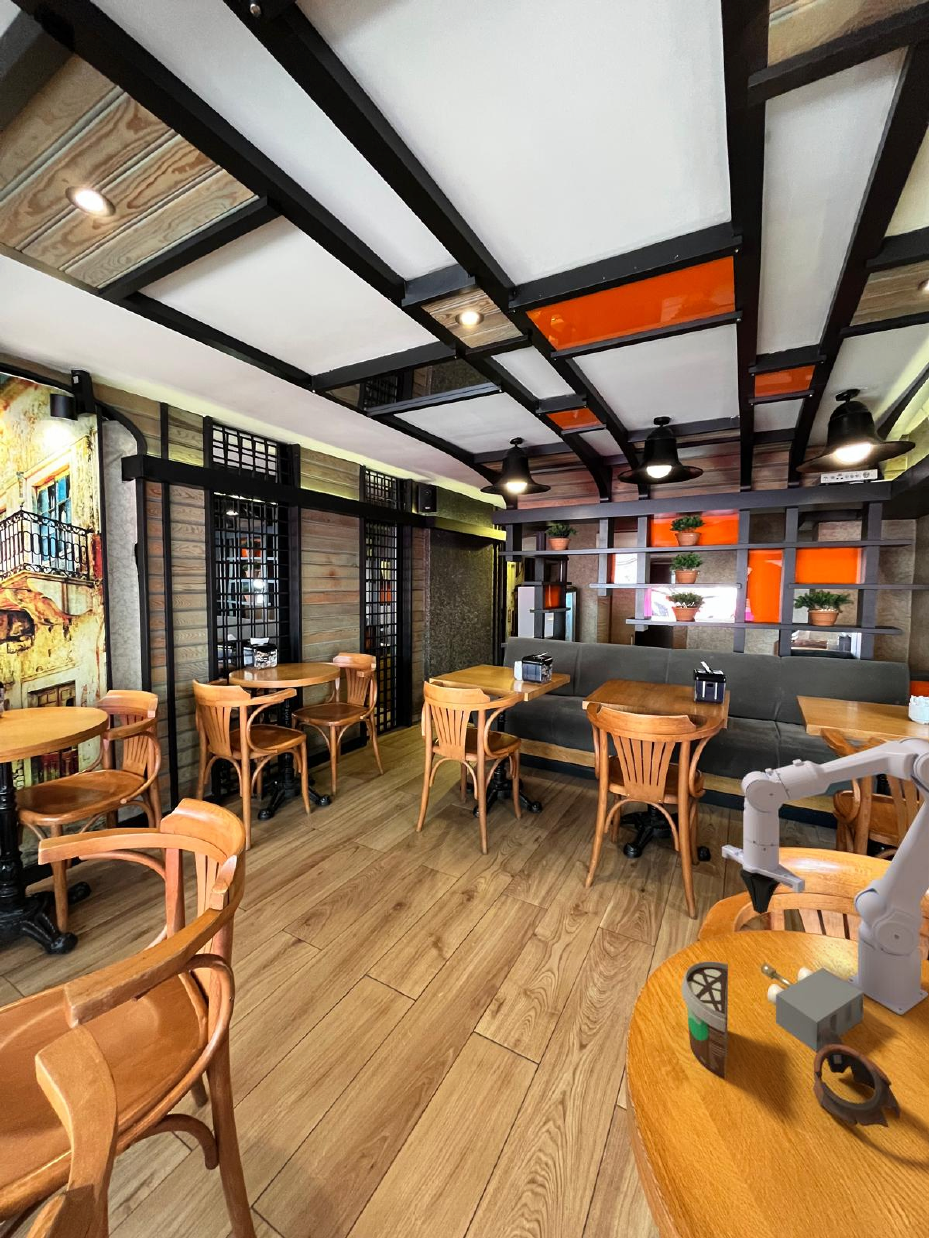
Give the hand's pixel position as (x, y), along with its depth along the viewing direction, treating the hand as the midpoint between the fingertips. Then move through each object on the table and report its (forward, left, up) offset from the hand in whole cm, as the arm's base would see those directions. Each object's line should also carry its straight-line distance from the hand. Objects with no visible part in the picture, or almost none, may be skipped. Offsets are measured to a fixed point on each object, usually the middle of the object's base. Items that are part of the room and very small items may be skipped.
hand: (760, 910), depth 93 cm
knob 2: (0, +11, -9) cm, 14 cm away
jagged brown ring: (+14, +22, -10) cm, 28 cm away
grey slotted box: (+4, +12, -10) cm, 16 cm away
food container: (+25, +7, -10) cm, 27 cm away
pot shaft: (+4, +7, -8) cm, 11 cm away
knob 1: (+8, +11, -9) cm, 16 cm away
